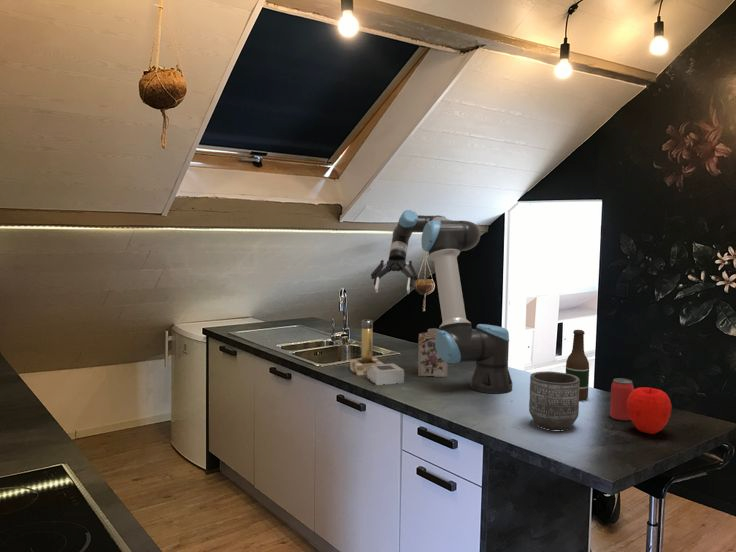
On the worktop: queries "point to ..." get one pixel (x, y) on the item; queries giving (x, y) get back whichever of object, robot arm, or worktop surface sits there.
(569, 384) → the planter
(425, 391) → the worktop surface
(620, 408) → the beer can
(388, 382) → the socket block
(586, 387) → the beer bottle
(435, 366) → the decorative jar
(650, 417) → the apple
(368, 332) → the yellow glass cylinder
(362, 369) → the rack block
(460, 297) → the robot arm
